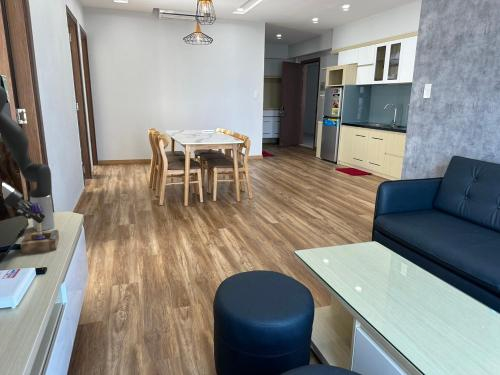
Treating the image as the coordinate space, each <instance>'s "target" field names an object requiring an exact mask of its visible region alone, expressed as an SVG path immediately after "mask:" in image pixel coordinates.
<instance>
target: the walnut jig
mask: <svg viewBox="0 0 500 375" xmlns="http://www.w3.org/2000/svg"><path fill="white" fill-rule="evenodd" d="M41 232H42V235H44V236H45V238H46V239H45V240H37V241H35V237H36V236H38V235H37V233H38V232H37V231H36V232H29V233H28V232H27V233H25V235H24V237H23V239H22V241H21V243H20V252H21V254H22V255H26V254H34V253H35V254H36V253H43V252H50V251H56V250H57V248H58V245H59V242H60V235H59V230H58V229H53V230H45V231H41Z"/></svg>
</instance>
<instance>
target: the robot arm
mask: <svg viewBox="0 0 500 375" xmlns="http://www.w3.org/2000/svg"><path fill="white" fill-rule="evenodd" d="M7 101H8V93H7V90H6V89H5V88H4V87H3V86H1V85H0V133H1V137H0V139H1V138H2V139H1V141H2V142H3V143H4V145H5V147H6V148H7V149H8V151H9V153H10V154H11V156H12V157H13V159H14V161H15V163H16V164H17V167H18V169H19V171H20V173H21V174H22V177H23V179H24V180H25V181H28V182H30V183H36V187H35V188H33V189H32V188H31V189H30V190H29V199H30V200H29V199H26V200H24V199H23V197H24V194H23V193H21V192H20V191H19V190H17V189H15V188H14V187H13V186H11V185H10V184H9V183H7V182H4V181H3V180H2V193H3V198H4V202H5V205H6V208H8V209H13V208H15V209H17V210H16V213H17V214H19V215H20V216H22V217H24V218H26V219H28V220H30V219H31V220H32V227H33V229H34V230H35V231H37V228H36V222H38V223H41V225H40V226H41V230H42V231H49V230H51V229H54V228H55V218H54V217H55V216H54V207H53V200H52V189H53V188H52V186H53V185H52V182H53V181H52V172H51V168H50V166H49V165H47V164H45V163H34V161H33V160H32V159H31V157H30V155H29V146H30V145H29V144H30V142H29V141H30V140H29V138H28V136H27V135H26V133H25V131H24V130H23V128H22V127H21V125H20V124H19V123H18V122H17V121H16V120H14V119H13V118H12V117H11V116H10V115H8V113H6V112H5V110H4V108H5V106H6V104H7ZM33 203H39V204H40V206H41V208H42V210H43V212H41V213H39V216H40V217H39V216H38V215H36V214H35V213H34V212H33V211H32V209H31V205H32V204H33ZM5 205H4V206H5Z"/></svg>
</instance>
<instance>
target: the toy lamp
mask: <svg viewBox="0 0 500 375" xmlns="http://www.w3.org/2000/svg"><path fill="white" fill-rule="evenodd" d="M31 209H32V211H33V212H34V213H35V214H36V215H38V216H39V213H41V212H43V210H42V208H41V206H40V204H39V203H33V204H32V205H31ZM39 217H40V216H39ZM40 225H41V223H38V222H36V228H37V230H36V232H38V233H37V235H38V236H36V237H35V241H37V240H45V239H46V238H45V236H44V235H42V232H43V230H41V226H40Z"/></svg>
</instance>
